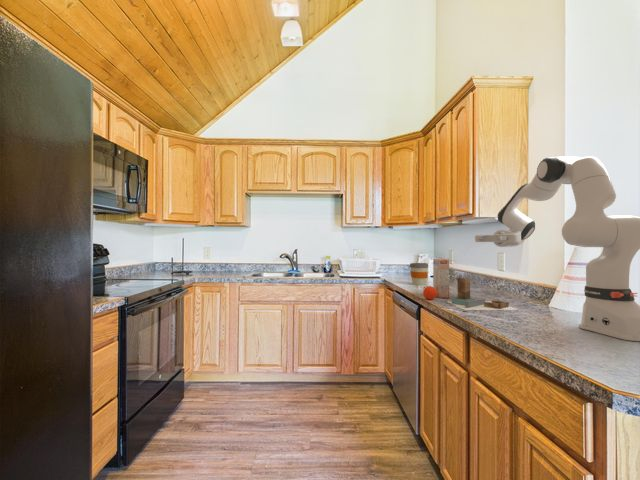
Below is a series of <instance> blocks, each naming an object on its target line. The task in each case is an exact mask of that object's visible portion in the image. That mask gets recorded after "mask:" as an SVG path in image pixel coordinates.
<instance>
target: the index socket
mask: <svg viewBox="0 0 640 480" xmlns="http://www.w3.org/2000/svg"><path fill="white" fill-rule="evenodd" d="M471 300H477V298H473V297H470V299H468V300H464V299H458V296H456V297H452V298H451V301H452V303H453V304H459V305H465V302H466V301H471ZM453 304H452V305H453Z"/></svg>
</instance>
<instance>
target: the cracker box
mask: <svg viewBox="0 0 640 480" xmlns="http://www.w3.org/2000/svg"><path fill="white" fill-rule="evenodd" d="M432 260H433V262H432V263H433V264H432V265H433V266H432V267H433V272H432V274H433V275H432V277H433V278H432V279H433V281H432V282H433V284H432V285H433V286H432V287H434V288H435V289H436V291H437V296H436V298H440V299H450V260H449V259H446V258H441V257H440V258H433V259H432Z"/></svg>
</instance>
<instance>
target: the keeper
mask: <svg viewBox="0 0 640 480" xmlns="http://www.w3.org/2000/svg"><path fill="white" fill-rule="evenodd" d="M491 301H492V303H491V302H484V306H485V307H491V308H497V309H502V308H506V307H510V306H509V304H510V303H509V302H508V301H501V300H491Z"/></svg>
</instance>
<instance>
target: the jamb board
mask: <svg viewBox="0 0 640 480" xmlns="http://www.w3.org/2000/svg"><path fill="white" fill-rule="evenodd" d="M446 302H447V303H449V304H451V305H453V306H456V307H457V308H459V309H461V310H462V312H463V313H468V311H495V310H496V311H503V310H504V311H506V310H507V311H515V310H516V311H518V310H519V309H517V308H514V307H512V306H509V307H506V308H502V309H497V308H491V307H485V306H484V302H491V303H492V300H486V298H476V300H471V301H466V302H465V305H459V304H453V303H452V300H450V301H449V300H448V301H446Z"/></svg>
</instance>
